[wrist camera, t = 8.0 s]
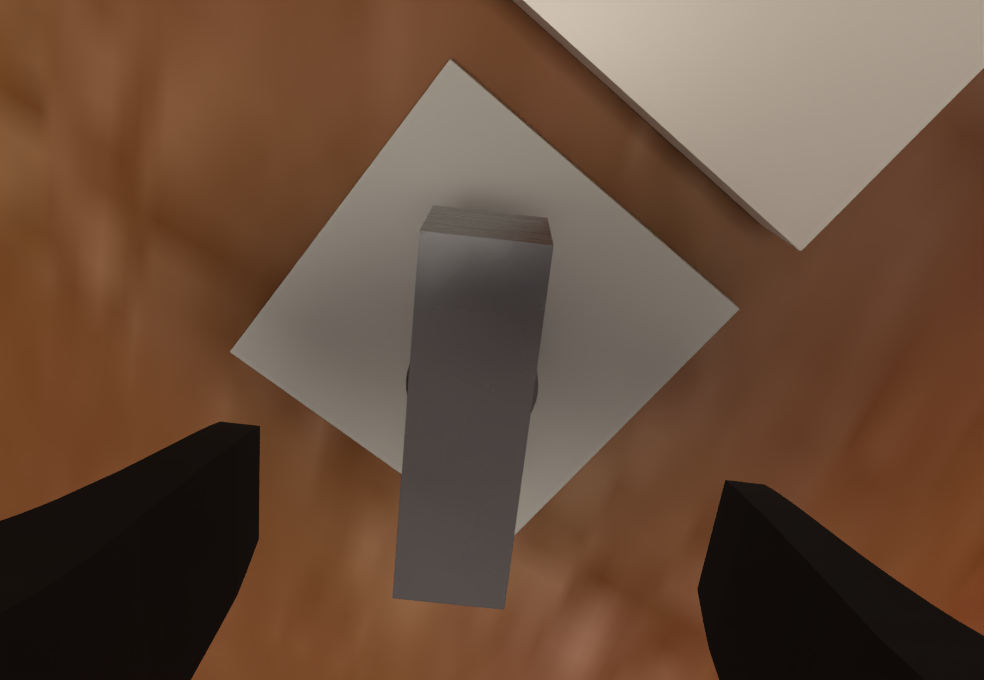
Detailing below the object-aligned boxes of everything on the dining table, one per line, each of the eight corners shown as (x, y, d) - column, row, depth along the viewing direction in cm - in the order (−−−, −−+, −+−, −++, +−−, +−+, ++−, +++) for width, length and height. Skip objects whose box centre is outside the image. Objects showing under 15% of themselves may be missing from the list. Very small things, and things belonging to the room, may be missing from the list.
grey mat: (733, 302, 21) (739, 309, 21) (503, 535, 24) (503, 546, 24) (451, 58, 19) (449, 58, 19) (236, 344, 22) (229, 351, 21)
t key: (516, 460, 22) (518, 611, 16) (414, 450, 22) (378, 596, 16) (552, 188, 20) (570, 247, 14) (436, 175, 20) (402, 228, 14)
